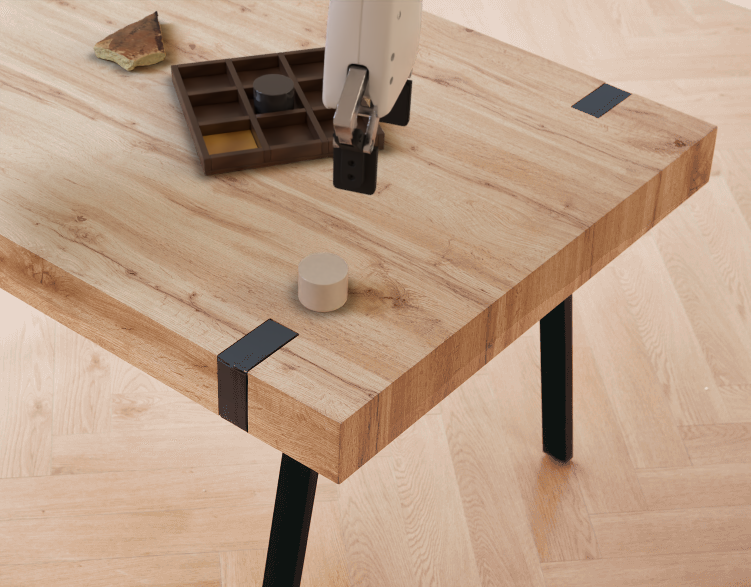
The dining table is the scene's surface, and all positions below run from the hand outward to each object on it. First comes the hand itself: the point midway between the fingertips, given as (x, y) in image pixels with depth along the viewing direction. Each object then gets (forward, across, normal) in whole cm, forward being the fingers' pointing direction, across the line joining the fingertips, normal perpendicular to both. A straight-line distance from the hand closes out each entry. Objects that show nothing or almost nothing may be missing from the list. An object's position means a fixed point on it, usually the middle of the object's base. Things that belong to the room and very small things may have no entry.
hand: (372, 154), depth 83 cm
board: (+17, -28, -18) cm, 37 cm away
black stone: (+16, -28, -18) cm, 37 cm away
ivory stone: (+17, -1, -4) cm, 17 cm away
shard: (+17, -35, -39) cm, 55 cm away
